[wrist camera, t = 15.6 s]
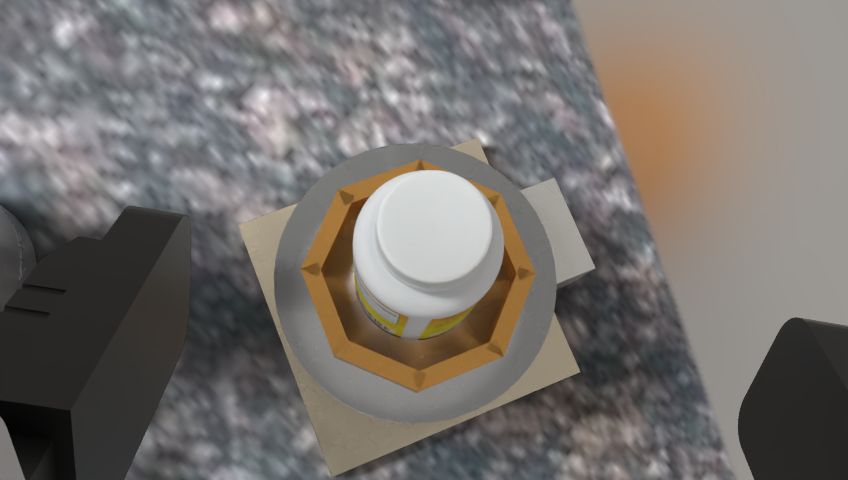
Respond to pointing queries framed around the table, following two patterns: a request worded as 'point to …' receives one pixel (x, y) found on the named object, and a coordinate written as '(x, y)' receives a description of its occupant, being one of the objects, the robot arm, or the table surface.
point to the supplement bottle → (425, 253)
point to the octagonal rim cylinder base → (399, 358)
